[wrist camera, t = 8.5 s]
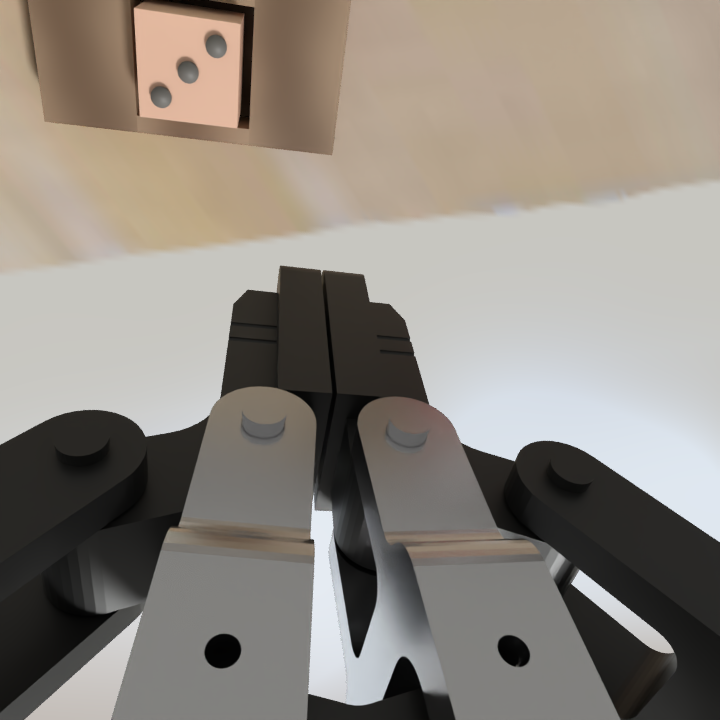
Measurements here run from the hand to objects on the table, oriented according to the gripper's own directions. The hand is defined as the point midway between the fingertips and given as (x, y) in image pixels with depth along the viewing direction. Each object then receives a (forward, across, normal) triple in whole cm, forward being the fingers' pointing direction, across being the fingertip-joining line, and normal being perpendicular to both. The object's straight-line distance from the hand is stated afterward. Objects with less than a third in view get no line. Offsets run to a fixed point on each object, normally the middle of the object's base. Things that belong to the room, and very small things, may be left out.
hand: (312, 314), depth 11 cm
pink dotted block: (+24, +5, 0) cm, 25 cm away
